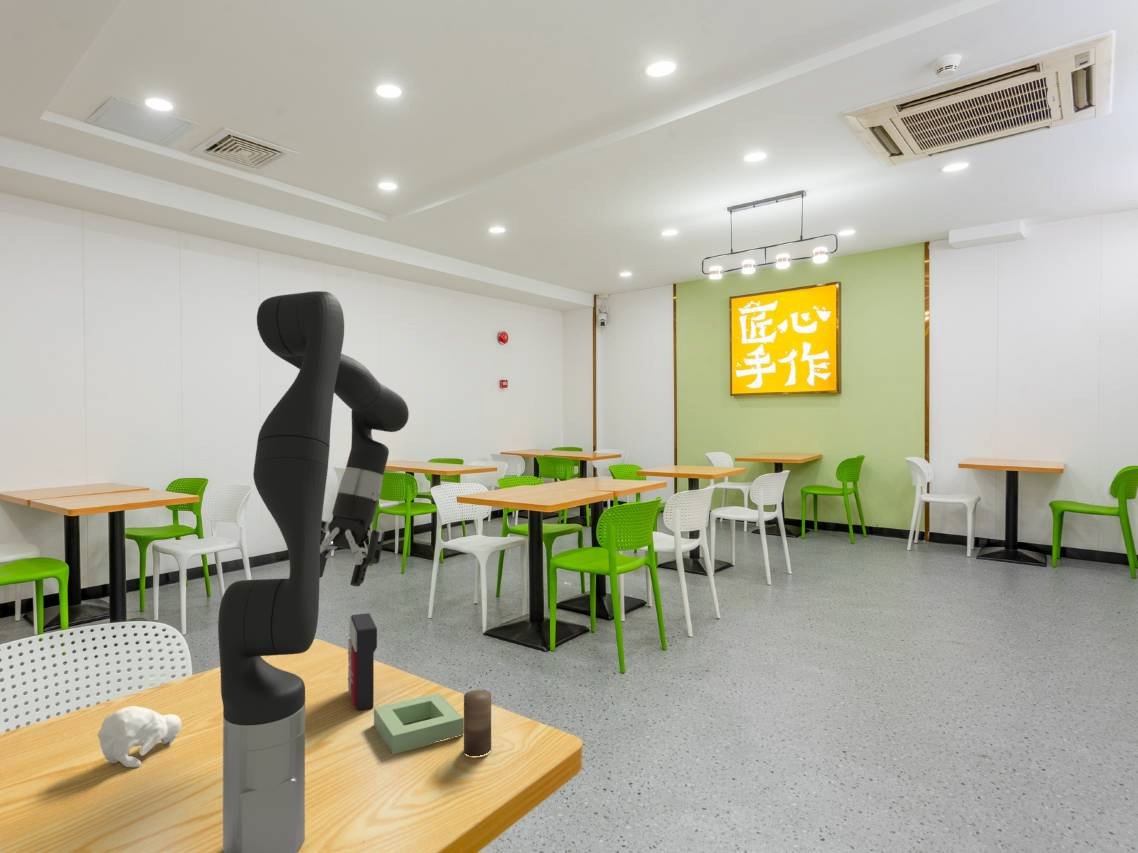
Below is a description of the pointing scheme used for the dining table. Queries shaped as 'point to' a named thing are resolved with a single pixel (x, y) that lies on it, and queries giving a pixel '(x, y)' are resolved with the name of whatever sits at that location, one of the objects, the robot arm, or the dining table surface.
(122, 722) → the white animal figurine
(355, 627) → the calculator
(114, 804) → the dining table surface
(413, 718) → the socket block
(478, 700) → the walnut pin
